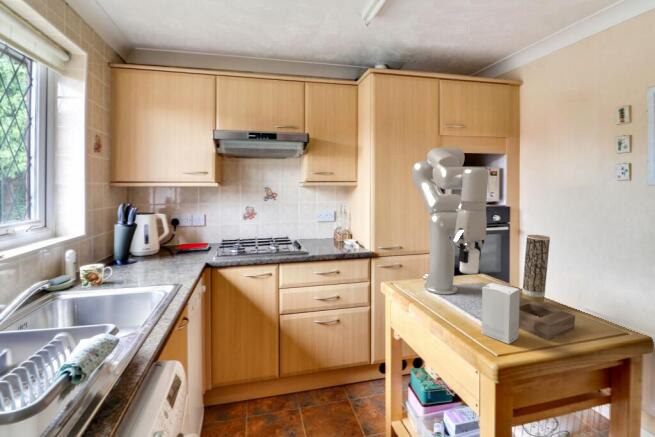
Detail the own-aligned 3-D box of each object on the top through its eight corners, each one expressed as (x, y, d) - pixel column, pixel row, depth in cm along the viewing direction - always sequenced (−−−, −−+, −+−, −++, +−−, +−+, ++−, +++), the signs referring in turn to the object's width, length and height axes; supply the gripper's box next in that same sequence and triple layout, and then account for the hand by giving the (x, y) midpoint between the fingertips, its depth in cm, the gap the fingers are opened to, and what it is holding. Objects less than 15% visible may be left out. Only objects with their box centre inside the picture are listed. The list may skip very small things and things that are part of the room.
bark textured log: (547, 309, 113) (553, 238, 110) (525, 307, 114) (531, 238, 111) (538, 301, 120) (544, 235, 116) (518, 300, 121) (523, 234, 118)
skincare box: (518, 339, 93) (522, 289, 91) (508, 345, 89) (512, 293, 87) (489, 327, 100) (492, 281, 98) (479, 333, 96) (482, 285, 94)
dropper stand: (495, 318, 106) (496, 305, 105) (521, 309, 112) (522, 297, 112) (547, 340, 92) (549, 325, 91) (573, 329, 98) (575, 315, 98)
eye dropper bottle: (476, 275, 105) (478, 239, 103) (458, 272, 108) (460, 237, 107) (479, 272, 108) (482, 237, 106) (462, 268, 112) (464, 234, 110)
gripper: (480, 204, 112) (476, 254, 115) (445, 206, 104) (442, 261, 107) (500, 206, 106) (496, 260, 108) (464, 209, 98) (460, 267, 101)
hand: (469, 260), depth 108 cm, fingers closed on eye dropper bottle, 5 cm apart
